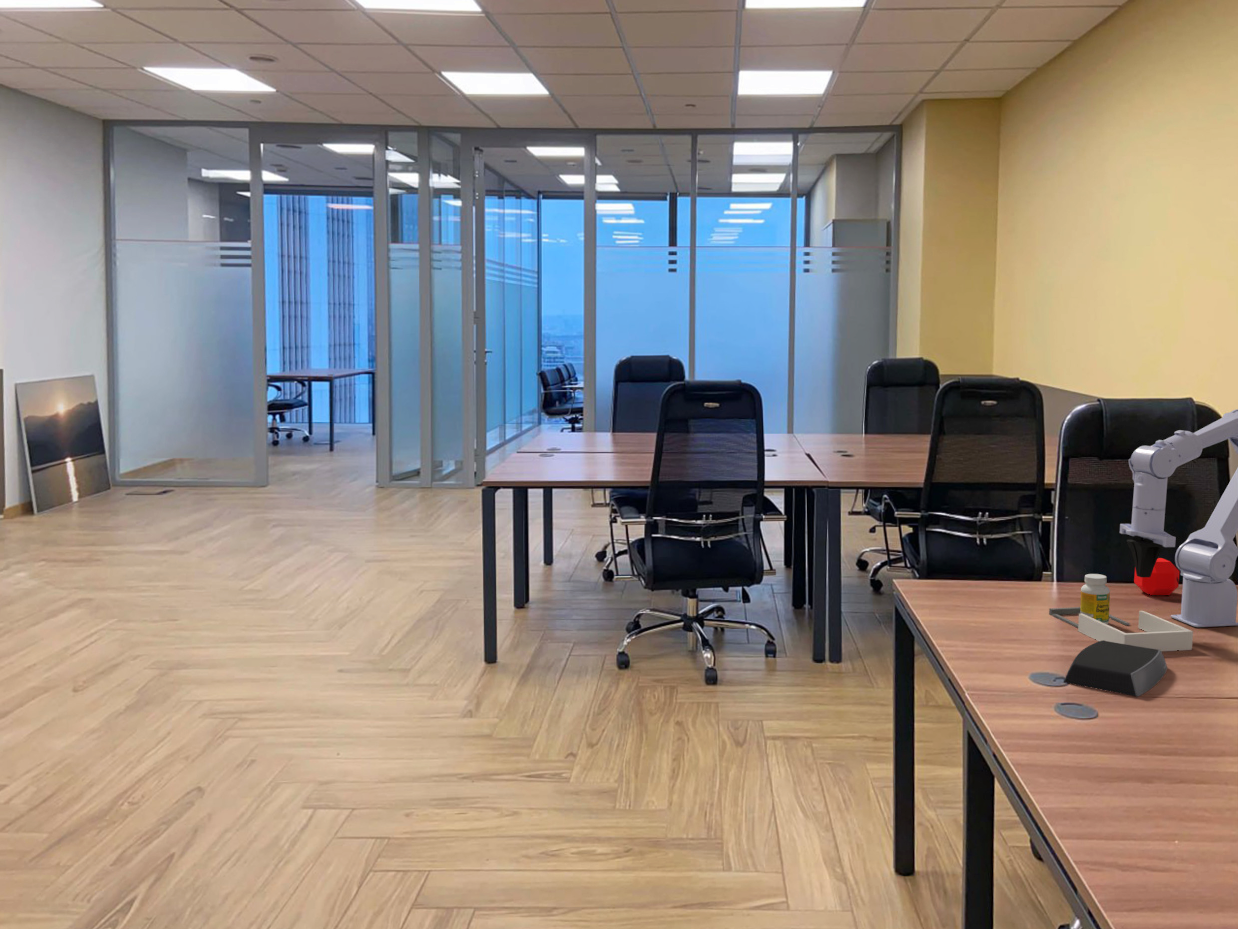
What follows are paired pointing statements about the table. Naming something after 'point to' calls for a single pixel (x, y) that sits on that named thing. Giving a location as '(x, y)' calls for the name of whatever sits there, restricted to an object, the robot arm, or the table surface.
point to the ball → (1159, 579)
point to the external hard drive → (1117, 668)
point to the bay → (1155, 637)
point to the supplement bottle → (1095, 598)
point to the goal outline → (1075, 610)
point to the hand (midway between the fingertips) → (1143, 576)
